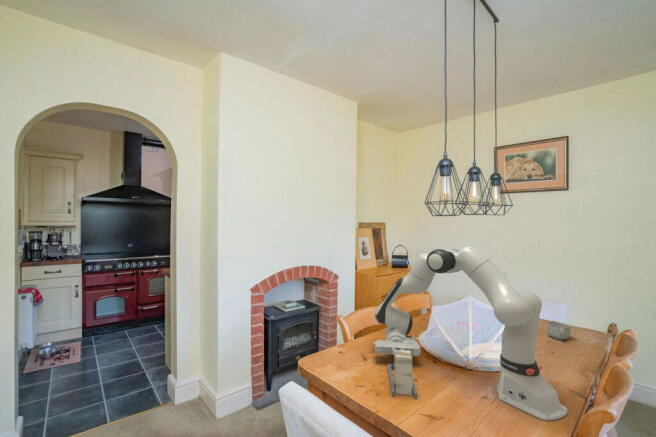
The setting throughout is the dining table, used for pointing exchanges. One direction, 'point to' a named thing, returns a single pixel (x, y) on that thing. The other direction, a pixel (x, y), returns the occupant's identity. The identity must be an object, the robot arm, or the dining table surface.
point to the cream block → (403, 372)
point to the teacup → (558, 330)
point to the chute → (390, 368)
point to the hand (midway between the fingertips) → (398, 355)
